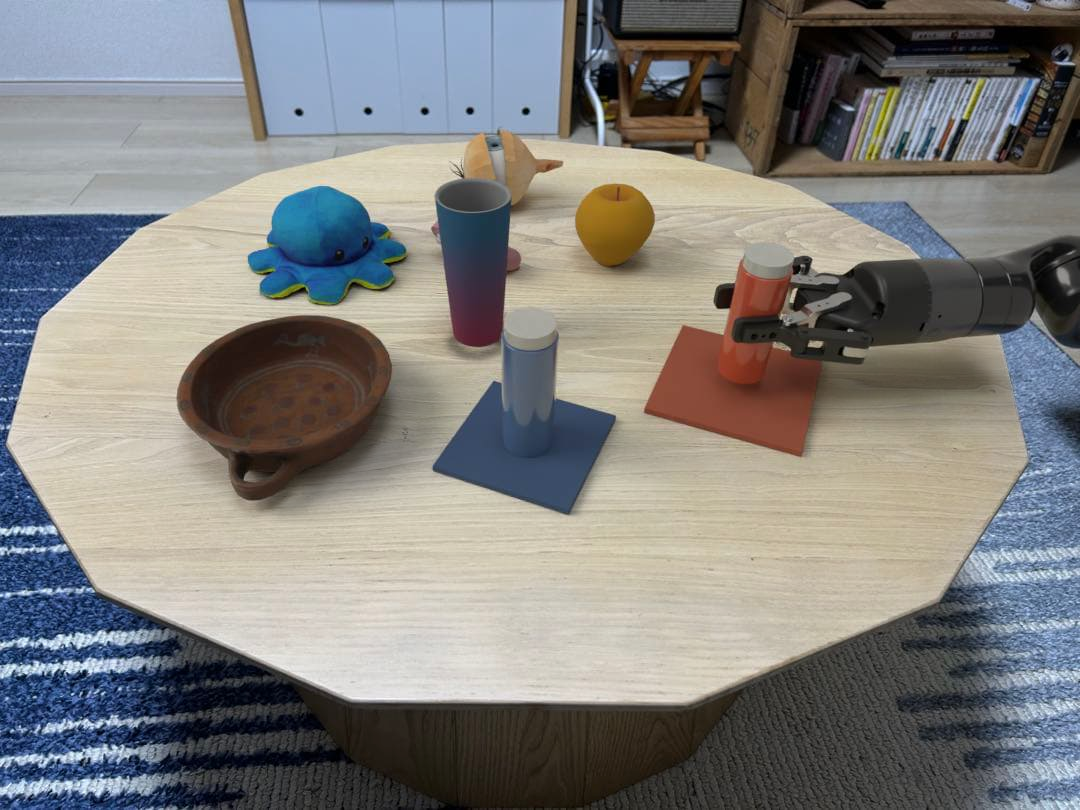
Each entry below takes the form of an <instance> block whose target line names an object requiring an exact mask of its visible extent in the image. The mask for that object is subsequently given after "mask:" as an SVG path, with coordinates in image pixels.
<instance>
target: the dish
mask: <svg viewBox="0 0 1080 810" xmlns="http://www.w3.org/2000/svg"><path fill="white" fill-rule="evenodd" d="M392 374H393V366H392V362H391V357H390V354H389V351H388V349H387V348H386V346H385V344H384V343H383V342H382V340H381V339H380V338H378V336H376V335H375V334H374V333H373V332H371V331H370V330H369V329H367V328H366V327H364V326H362V325H360V324H357V323H354V322H351V321H349V320H345V319H342V318H337V317H332V316H327V315H316V314H313V315H312V314H299V315H298V314H297V315H289V316H282V317H276V318H271V319H266V320H262V321H257V322H254V323H249V324H247V325H244V326H242V327H238V328H237V329H235V330H233V331H229V332H228V333H226V334H224V335H223V336H221V337H219V338H217V339H215V340H214V341H212V342H211V343H210V344H207V346H205V347H204V348H203V349H201V351H199V353H198V354H196V355H195V357H194V358H193V359H192V360H191V361H190V363H188V366H187V367H185V370H184V371H183V373H182V375H181V378H180V380H179V382H178V387H177V390H176V407H177V411H178V413H179V415H180V418H181V419H182V420H183V422H184V423H185V425H186V426H187V427H188V429H190V430H191V431H192V432H193V433H195V435H197V436H198V437H199V438H201V439H202V440H203V441H206V442H207V443H208V444H209V445H210V446H211V447H212V448H213V449H214V450H216V451H217V452H218V453H219V454H221V456H223V457H224V458H225V459H227V460H228V466H227V467H228V468H227V470H228V475H229V479H230V482H231V485H232V487H233V489H234V491H235V493H236V494H237V495H238V497H240V498H241V499H243V500H246V501H249V502H251V501H252V502H254V501H255V502H256V501H260V500H261V501H262V500H265V499H268V498H271V497H274V496H275V495H277V494H279V493H280V492H282V491H284V490H285V489H286V488H287V487H288V486H289V485H290V484H291V483H292V482H293V480H294V479H295V478H296V477H297V476H298V474H299V473H300V472H301V471H302V470H304V469H307V468H310V467H314V466H317V465H319V464H322V463H324V462H327V461H329V460H331V459H333V458H335V457H337V456H339V455H341V454H342V453H344V452H346V451H347V450H348V449H350V448H351V447H353V445H355V444H356V443H357V442H358V441H359V440H360V439H361V438H362V437H363V436H364V435H365V433H366V432H367V431H368V430H369V428H370V427H371V426H372V424H373V421H374V420H375V417H376V416H377V413H378V410H379V407H380V405H381V402H382V400H383V398H384V397H385V395H386V393H387V391H388V389H389V387H390V383H391V379H392ZM251 471H254V472H255V471H256V472H275V473H274V474H271V475H270V476H269V477H267V478H266V479H263V480H261V481H255V482H252V481H246V480H244V479H245V476H246V475H247V473H248V472H251Z"/></svg>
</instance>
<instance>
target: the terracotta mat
mask: <svg viewBox="0 0 1080 810" xmlns="http://www.w3.org/2000/svg"><path fill="white" fill-rule="evenodd" d="M723 335H724V334H721V333H717V332H714V331H709V330H705V329H702V328H697V327H693V326H689V325H684V324H683V325H682V326H681V328H680V330H679V332H678V334H677V337H676V338H675V341H674V343H673V346H672V348H671V349H670V352H669V354H668V356H667V359H666V361H665V363H664V365H663V366H662V369H661V371H660V374H659V375H658V378H657V380H656V382H655V384H654V386H653V387H652V391H651V393H650V395H649V398H648V399H647V402H646V404H645V405H644V408H643V409H644V410H643V412H644V413H645V414H648V415H651V416H652V415H653V416H656V417H659V418H663V419H665V420H670V421H673V422H677V423H680V424H684V425H687V426H691V427H695V428H698V429H701V430H706V431H709V432H713V433H716V434H719V435H723V436H725V437H726V436H727V437H730V438H734V439H737V440H741V441H745V442H748V443H751V444H754V445H758V446H762V447H766V448H769V449H773V450H777V451H781V452H784V453H787V454H791V455H795V456H798V457H802V455H803V452H804V448H805V443H806V438H807V433H808V428H809V424H810V420H811V414H812V409H813V405H814V400H815V397H816V396H815V394H816V391H817V386H818V381H819V376H820V372H821V367H822V364H823V363H822V362H823V361H816V360H807V359H798V358H794V357H792V356H791V354H790V352H791V350H786V349H782V348H778V347H775V346H773V347H772V350H771V354H770V357H769V361H768V365H767V368H766V372H765V375H764V377H763V378H762V379H761V380H760V381H758V382H756V383H753V384H739V383H735V382H732V381H729V380H727V379H726V378H724V377H723V376H722V375H721V374H720V373H719V371H718V369H717V362H718V357H719V353H720V348H721V344H722V339H723Z"/></svg>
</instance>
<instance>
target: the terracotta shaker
mask: <svg viewBox="0 0 1080 810" xmlns="http://www.w3.org/2000/svg"><path fill="white" fill-rule="evenodd" d="M794 258H795V255H794V253H793V252H792V250H790V249H789V248H788V247H786V246H784V245H782V244H779V243H777V242H776V243H775V242H770V241H757V242H753V243H750V244H748V245H747V246H746V247H745V248H744V252H743V256H742V258H741V259H740V260H739V262H738V267H737V271H736V277H735V281H734V283H735V285H734V290H733V294H732V299H731V303H730V308H729V309H728V312H727V317H726V321H725V326H724V331H723V334H722V335H723V339H722V344H721V348H720V353H719V357H718V362H717V369H718V371H719V373H720V374H721V375H722V376H723V377H724V378H726V379H727V380H729V381H732V382H735V383H739V384H753V383H756V382H758V381H760V380H761V379H762V378H763V377H764V375H765V372H766V368H767V365H768V361H769V357H770V354H771V350H772V347H774V343H775V342H766V343H752V344H748V343H736V342H734V340H733V338H732V336H731V332H732V328H733V324H734V321H735V319H737V318H739V317H749V316H767V315H778V317H779V318H780V319H782V315H783V314H782V311H783V307H784V303H785V300H786V296H787V293H788V289H789V285H790V282H791V278H792V274H793V268H792V265H793V261H794Z"/></svg>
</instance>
